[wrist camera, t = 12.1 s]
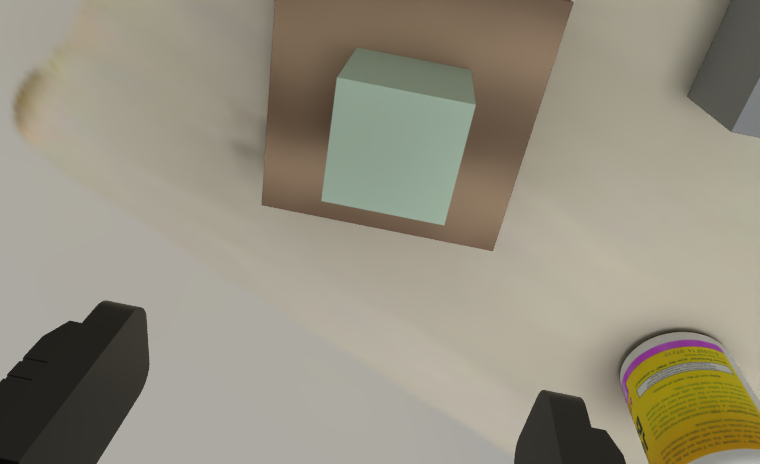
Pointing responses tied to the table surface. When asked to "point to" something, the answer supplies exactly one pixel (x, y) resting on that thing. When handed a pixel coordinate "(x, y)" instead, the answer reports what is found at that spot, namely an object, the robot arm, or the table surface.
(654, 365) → the supplement bottle
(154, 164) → the table surface
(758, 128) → the charcoal cube
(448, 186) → the sage cube
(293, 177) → the walnut block
